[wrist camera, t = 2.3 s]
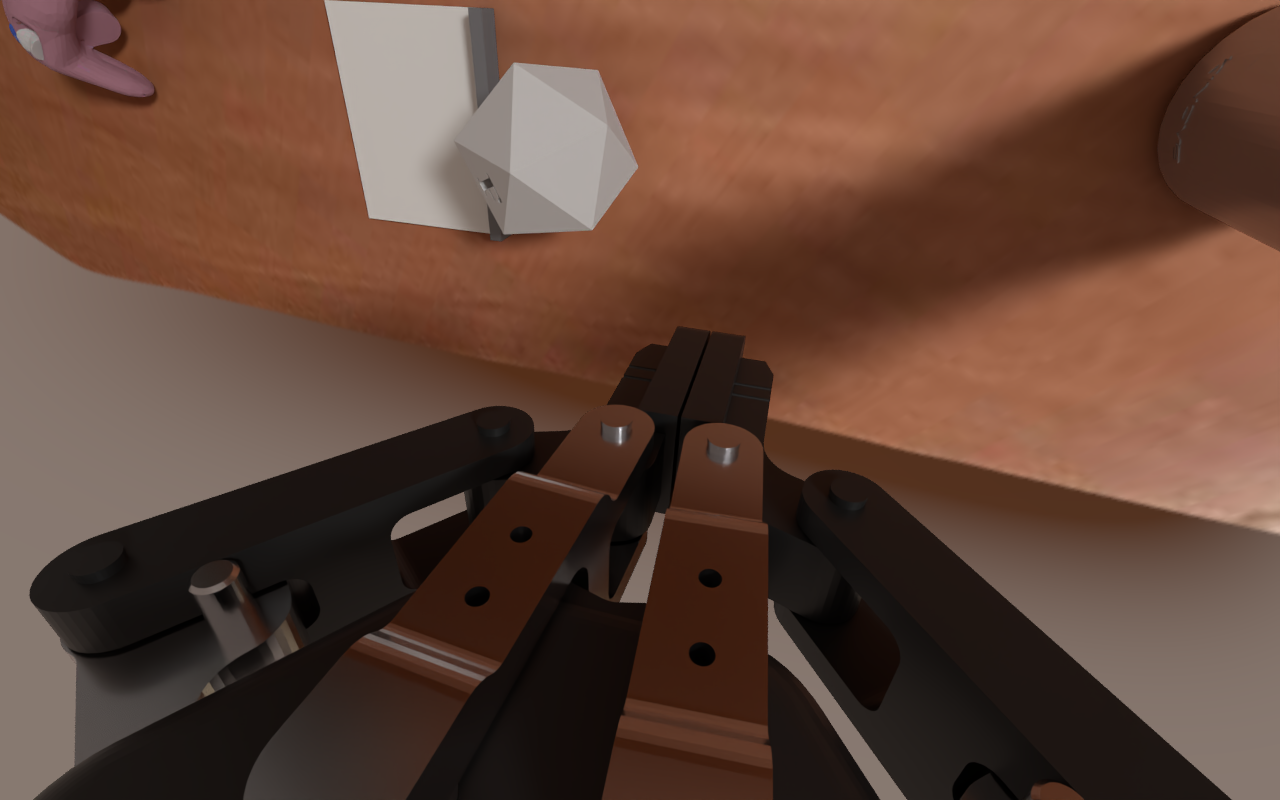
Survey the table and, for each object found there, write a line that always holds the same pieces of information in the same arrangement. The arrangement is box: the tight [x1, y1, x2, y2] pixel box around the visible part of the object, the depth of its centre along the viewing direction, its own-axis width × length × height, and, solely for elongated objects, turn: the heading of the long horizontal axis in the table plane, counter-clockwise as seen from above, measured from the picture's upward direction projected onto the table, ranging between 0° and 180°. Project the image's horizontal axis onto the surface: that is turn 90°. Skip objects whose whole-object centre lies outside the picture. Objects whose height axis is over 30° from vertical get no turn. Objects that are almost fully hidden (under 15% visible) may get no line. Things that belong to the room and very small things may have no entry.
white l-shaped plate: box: [324, 0, 511, 241], centre depth 38 cm, size 11×13×2 cm
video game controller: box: [2, 0, 155, 97], centre depth 37 cm, size 10×5×7 cm, turn 141°
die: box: [454, 63, 638, 234], centre depth 32 cm, size 8×9×10 cm
